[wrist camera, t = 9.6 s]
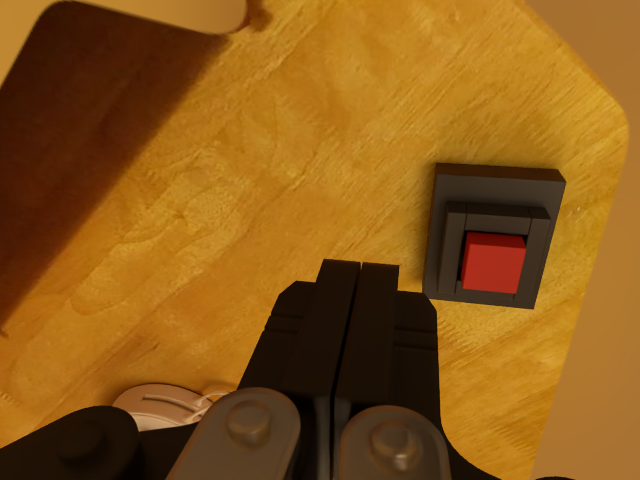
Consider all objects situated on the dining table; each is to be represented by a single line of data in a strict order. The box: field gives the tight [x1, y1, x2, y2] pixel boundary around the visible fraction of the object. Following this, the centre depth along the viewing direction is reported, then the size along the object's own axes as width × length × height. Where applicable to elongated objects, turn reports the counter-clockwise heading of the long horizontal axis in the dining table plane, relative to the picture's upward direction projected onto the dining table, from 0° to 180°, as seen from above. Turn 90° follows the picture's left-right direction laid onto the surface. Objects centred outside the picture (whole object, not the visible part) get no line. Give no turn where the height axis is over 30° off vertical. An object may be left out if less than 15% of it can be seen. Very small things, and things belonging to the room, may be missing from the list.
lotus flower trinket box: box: [112, 384, 230, 431], centre depth 50 cm, size 7×16×20 cm
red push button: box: [422, 163, 566, 309], centre depth 34 cm, size 10×8×4 cm
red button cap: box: [461, 232, 526, 294], centre depth 32 cm, size 3×3×2 cm
